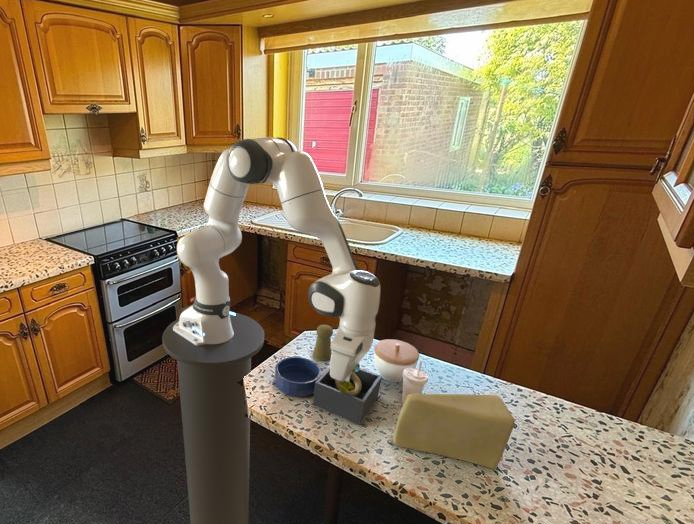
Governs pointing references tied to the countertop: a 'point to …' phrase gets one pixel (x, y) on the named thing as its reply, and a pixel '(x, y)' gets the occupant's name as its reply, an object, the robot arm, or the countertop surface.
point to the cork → (323, 343)
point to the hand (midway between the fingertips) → (349, 377)
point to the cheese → (455, 426)
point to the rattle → (350, 384)
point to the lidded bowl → (394, 358)
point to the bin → (347, 396)
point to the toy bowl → (297, 376)
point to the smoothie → (413, 381)
